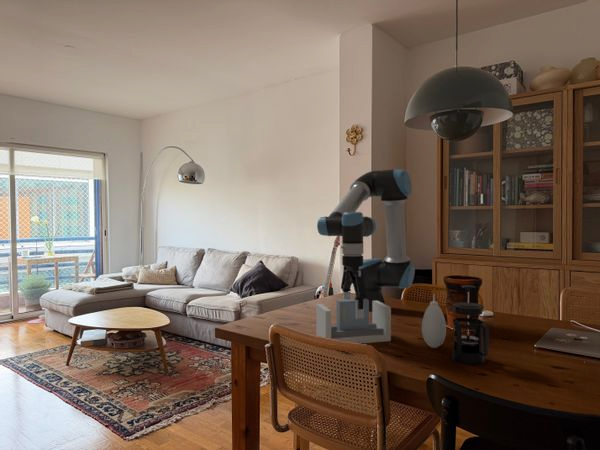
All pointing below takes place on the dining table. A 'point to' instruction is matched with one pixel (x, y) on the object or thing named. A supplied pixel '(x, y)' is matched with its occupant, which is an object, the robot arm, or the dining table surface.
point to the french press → (468, 351)
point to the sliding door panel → (351, 315)
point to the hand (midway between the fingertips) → (353, 313)
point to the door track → (376, 317)
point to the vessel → (460, 296)
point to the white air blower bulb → (434, 325)
